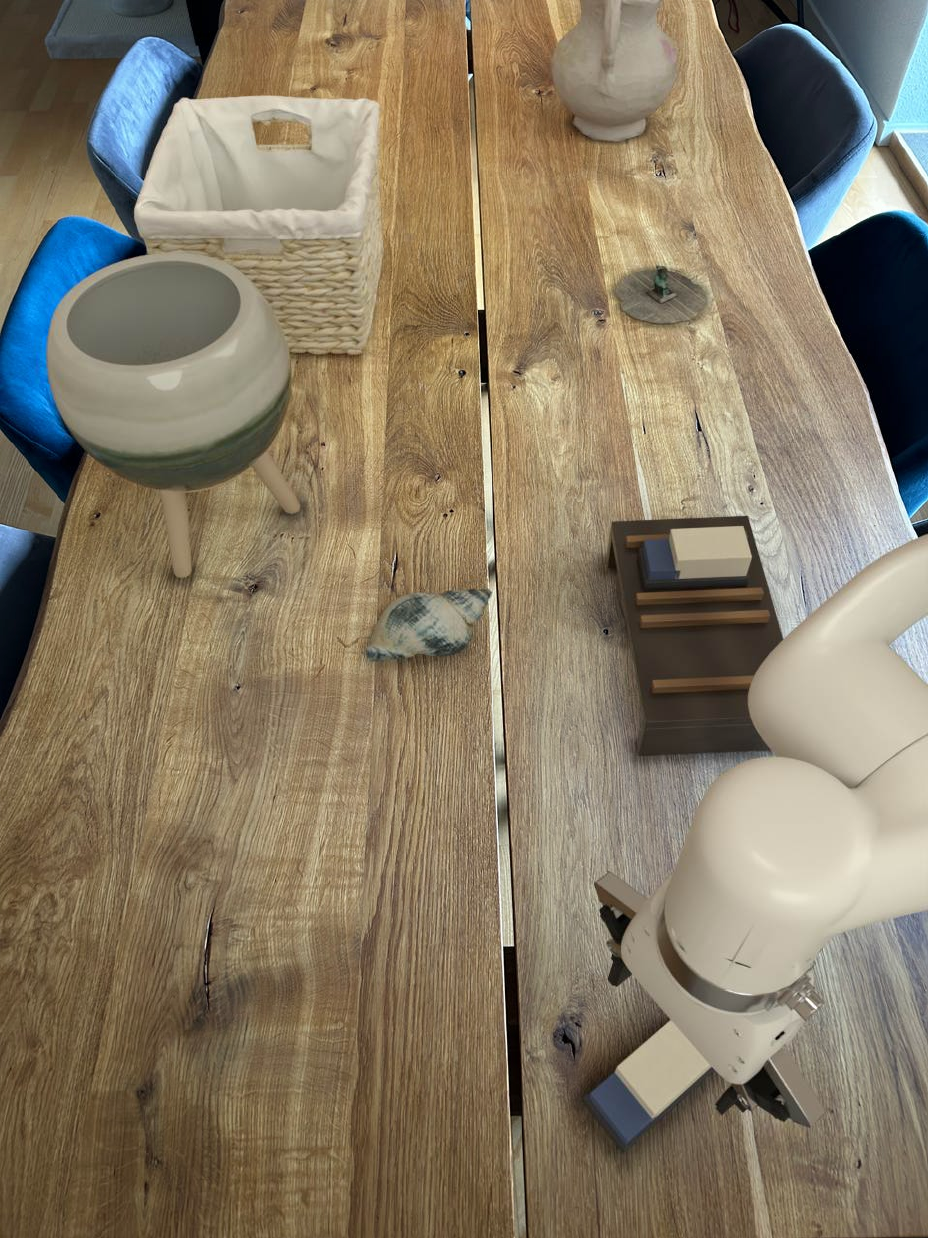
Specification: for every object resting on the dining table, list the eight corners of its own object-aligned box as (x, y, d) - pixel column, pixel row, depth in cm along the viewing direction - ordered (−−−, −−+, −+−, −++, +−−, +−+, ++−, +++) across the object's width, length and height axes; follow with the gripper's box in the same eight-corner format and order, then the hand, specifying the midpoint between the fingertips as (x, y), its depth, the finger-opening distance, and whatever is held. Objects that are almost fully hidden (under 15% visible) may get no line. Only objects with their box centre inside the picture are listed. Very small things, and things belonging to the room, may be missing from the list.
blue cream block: (678, 1017, 79) (686, 1001, 76) (720, 1065, 77) (730, 1051, 74) (581, 1101, 76) (585, 1088, 73) (622, 1154, 73) (628, 1143, 70)
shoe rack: (736, 553, 108) (750, 508, 103) (789, 749, 94) (808, 709, 88) (606, 559, 108) (612, 514, 102) (638, 756, 93) (647, 716, 88)
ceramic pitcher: (673, 166, 158) (714, -9, 139) (549, 160, 157) (572, -17, 138) (655, 100, 172) (689, -69, 152) (540, 94, 170) (560, -76, 151)
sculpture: (631, 264, 141) (674, 232, 135) (672, 314, 144) (716, 284, 138) (602, 307, 134) (646, 275, 128) (646, 359, 137) (691, 329, 131)
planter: (147, 450, 120) (69, 237, 98) (332, 454, 119) (295, 240, 97) (95, 596, 107) (-9, 387, 84) (303, 602, 105) (253, 392, 83)
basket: (379, 367, 128) (362, 208, 111) (170, 366, 129) (120, 208, 112) (395, 245, 145) (382, 90, 127) (209, 245, 146) (172, 91, 128)
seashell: (376, 629, 105) (492, 636, 104) (362, 665, 98) (485, 674, 97) (374, 573, 102) (493, 580, 101) (359, 607, 95) (486, 615, 94)
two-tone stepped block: (738, 551, 100) (746, 523, 97) (747, 586, 98) (756, 559, 95) (637, 555, 100) (642, 528, 97) (644, 590, 98) (649, 563, 94)
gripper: (921, 1025, 48) (823, 1108, 62) (666, 772, 57) (630, 894, 70) (816, 1130, 46) (738, 1193, 59) (565, 848, 54) (547, 959, 68)
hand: (679, 1030), depth 65 cm, fingers open, 9 cm apart
